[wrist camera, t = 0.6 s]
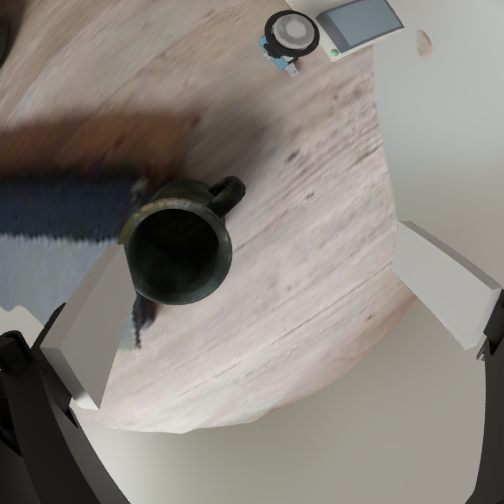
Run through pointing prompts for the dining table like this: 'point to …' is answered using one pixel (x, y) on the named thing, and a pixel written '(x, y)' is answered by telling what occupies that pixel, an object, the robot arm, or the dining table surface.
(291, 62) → the push button
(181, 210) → the mug
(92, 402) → the robot arm
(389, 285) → the dining table surface
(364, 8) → the blue-grey rectangular block
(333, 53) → the board
